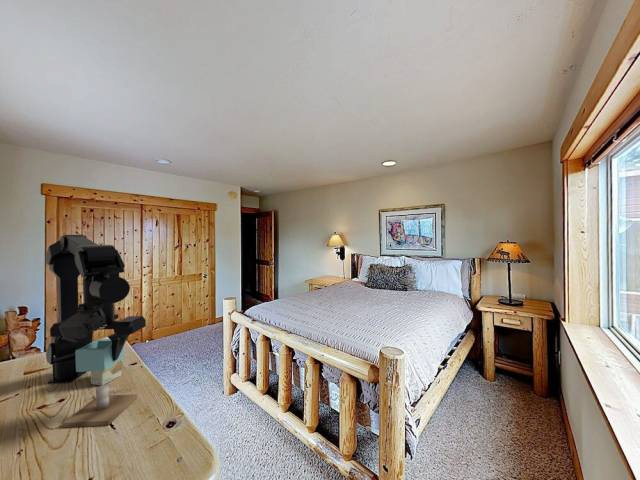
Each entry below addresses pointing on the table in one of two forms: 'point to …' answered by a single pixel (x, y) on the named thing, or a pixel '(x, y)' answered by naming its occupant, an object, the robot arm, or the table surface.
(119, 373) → the skincare box
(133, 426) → the table surface
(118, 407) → the post plate
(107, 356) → the collar
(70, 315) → the robot arm
